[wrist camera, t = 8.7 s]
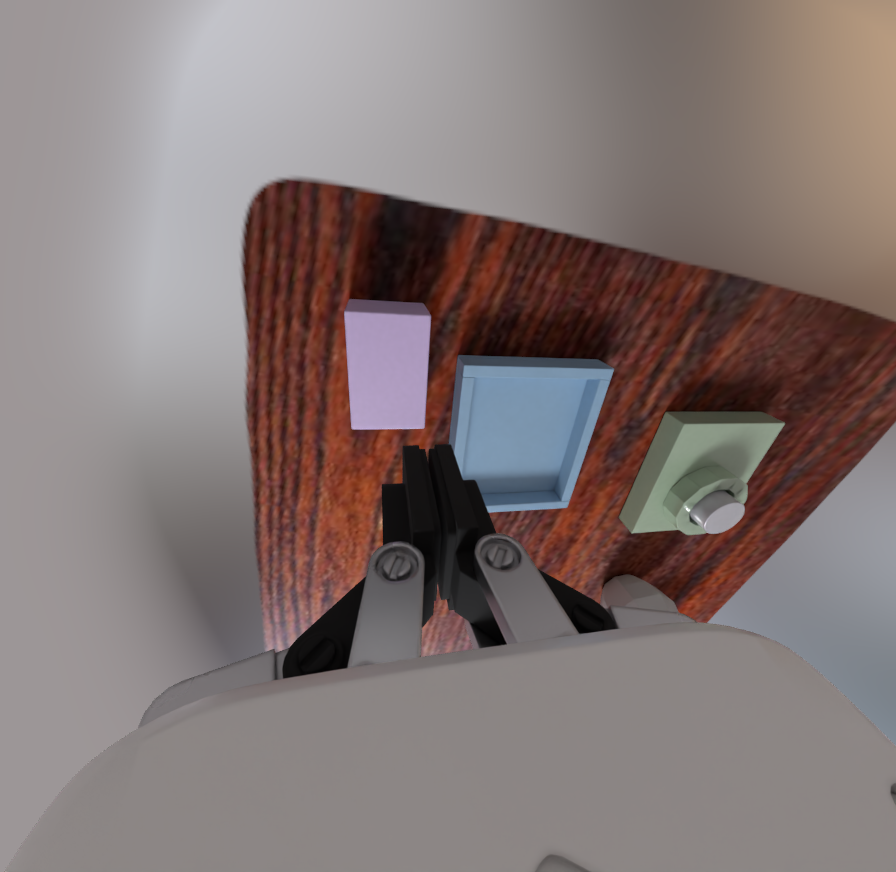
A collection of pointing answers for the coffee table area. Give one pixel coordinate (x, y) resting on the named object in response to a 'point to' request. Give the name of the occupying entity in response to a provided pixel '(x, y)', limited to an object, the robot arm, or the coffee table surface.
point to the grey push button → (717, 512)
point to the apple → (634, 594)
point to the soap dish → (525, 426)
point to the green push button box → (696, 466)
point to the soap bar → (387, 363)
